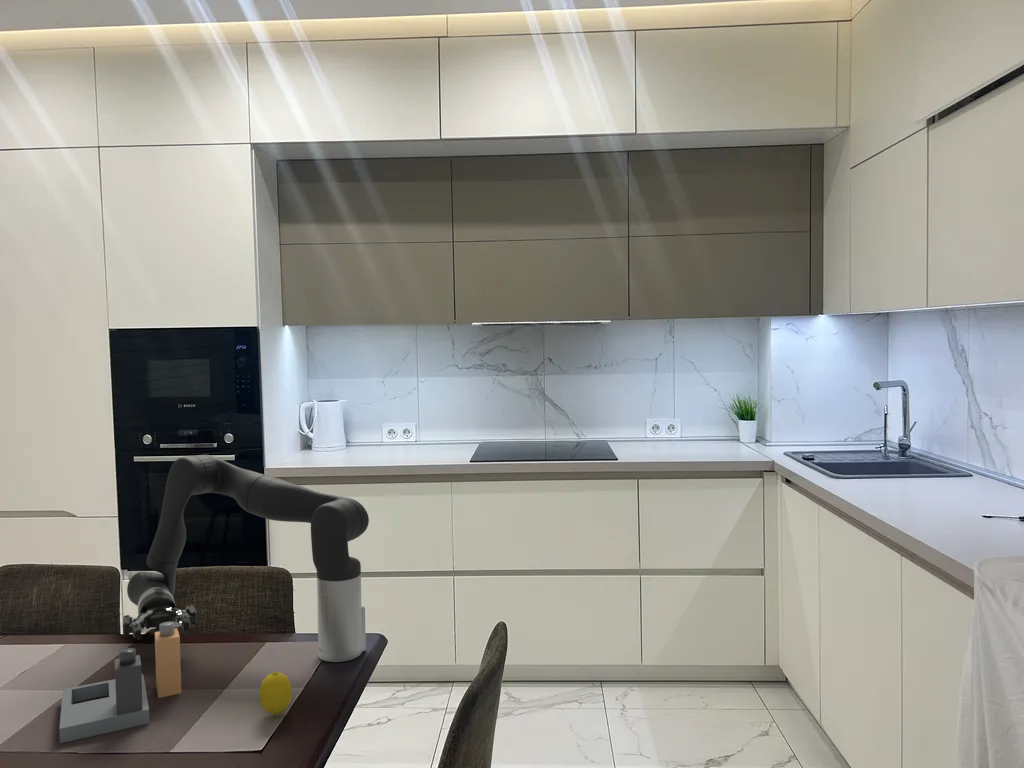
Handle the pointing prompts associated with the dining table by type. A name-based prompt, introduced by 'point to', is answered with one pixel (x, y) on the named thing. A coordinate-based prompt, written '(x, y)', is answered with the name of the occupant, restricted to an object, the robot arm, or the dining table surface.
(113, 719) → the gray post stand
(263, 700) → the lemon
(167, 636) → the plug
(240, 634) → the dining table surface
